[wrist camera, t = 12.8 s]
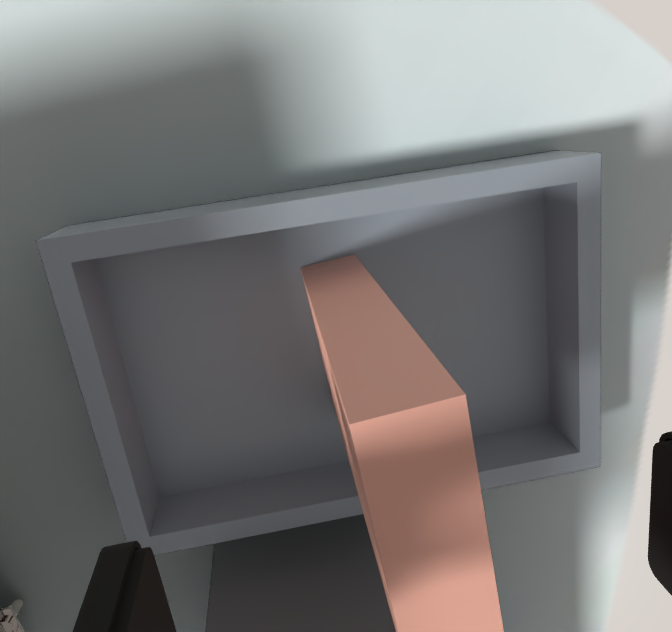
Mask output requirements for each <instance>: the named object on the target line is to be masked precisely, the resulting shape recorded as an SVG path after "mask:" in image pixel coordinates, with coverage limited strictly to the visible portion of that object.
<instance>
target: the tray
mask: <svg viewBox="0 0 672 632" xmlns="http://www.w3.org/2000/svg"><path fill="white" fill-rule="evenodd" d="M36 243H37V246H38V249H39V253H40V256H41V259H42V263H43V266H44V269H45V273H46V276H47V279H48V283H49V286H50V289H51V293H52V296H53V299H54V303H55V306H56V309H57V313H58V316H59V319H60V323H61V326H62V329H63V333H64V336H65V339H66V343H67V346H68V349H69V353H70V356H71V359H72V362H73V366H74V369H75V372H76V376H77V379H78V382H79V386H80V389H81V392H82V396H83V399H84V402H85V406H86V409H87V412H88V416H89V419H90V422H91V426H92V429H93V432H94V436H95V439H96V442H97V446H98V449H99V452H100V456H101V459H102V462H103V465H104V469H105V472H106V475H107V479H108V482H109V485H110V489H111V492H112V495H113V499H114V502H115V505H116V509H117V512H118V515H119V519H120V522H121V525H122V529H123V532H124V535H125V539H126V542H131V541H138V542H139V543H140V545H141V548H145V547H151V549H152V551H153V554H154V556H155V555H160V554H165V553H170V552H175V551H180V550H185V549H190V548H195V547H200V546H205V545H210V544H215V543H220V542H225V541H230V540H235V539H240V538H245V537H250V536H255V535H260V534H265V533H270V532H275V531H280V530H285V529H290V528H295V527H300V526H305V525H310V524H315V523H320V522H326V521H331V520H336V519H341V518H346V517H351V516H356V515H361V514H363V510H362V507H361V503H360V500H359V496H358V492H357V489H356V485H355V482H354V478H353V474H352V471H351V467H350V463H349V460H348V456H347V453H346V449H345V445H344V442H343V438H342V435H341V431H340V427H339V424H338V420H337V416H336V413H335V409H334V404H333V400H332V396H331V392H330V388H329V384H328V380H327V376H326V371H325V367H324V363H323V359H322V355H321V351H320V347H319V343H318V339H317V334H316V330H315V326H314V322H313V318H312V314H311V310H310V306H309V301H308V297H307V293H306V289H305V285H304V281H303V277H302V273H301V269H300V267H304V266H308V265H312V264H317V263H321V262H325V261H329V260H333V259H337V258H341V257H345V256H350V255H355V256H356V257H357V258H358V260H359V261H360V262H361V263H362V265H363V266H364V267H365V268H366V270H367V271H368V272H369V273H370V275H371V276H372V277H373V278H374V280H375V281H376V282H377V284H378V285H379V286H380V287H381V289H382V290H383V291H384V292H385V294H386V295H387V296H388V297H389V299H390V300H391V301H392V302H393V304H394V305H395V306H396V307H397V309H398V310H399V311H400V313H401V314H402V315H403V316H404V318H405V319H406V320H407V321H408V323H409V324H410V325H411V326H412V328H413V329H414V330H415V331H416V333H417V334H418V335H419V336H420V338H421V339H422V340H423V341H424V343H425V344H426V345H427V347H428V348H429V349H430V350H431V352H432V353H433V354H434V355H435V357H436V358H437V359H438V360H439V362H440V363H441V364H442V365H443V367H444V368H445V369H446V370H447V372H448V373H449V374H450V375H451V377H452V378H453V379H454V381H455V382H456V383H457V384H458V386H459V387H460V388H461V389H462V391H463V392H464V393H465V394H466V400H467V406H468V413H469V419H470V425H471V431H472V437H473V443H474V450H475V456H476V462H477V468H478V474H479V481H480V487H481V490H486V489H491V488H496V487H501V486H506V485H511V484H516V483H521V482H526V481H532V480H537V479H542V478H547V477H552V476H557V475H562V474H567V473H572V472H577V471H582V470H587V469H592V468H597V467H600V369H601V153H595V152H577V151H560V150H554V151H548V152H541V153H535V154H528V155H522V156H515V157H509V158H502V159H496V160H489V161H483V162H476V163H470V164H464V165H457V166H451V167H444V168H438V169H431V170H425V171H418V172H412V173H405V174H399V175H392V176H386V177H379V178H373V179H366V180H360V181H353V182H347V183H340V184H334V185H327V186H321V187H314V188H308V189H301V190H295V191H289V192H282V193H276V194H269V195H263V196H256V197H250V198H243V199H237V200H230V201H224V202H217V203H211V204H204V205H198V206H191V207H185V208H178V209H172V210H165V211H159V212H152V213H146V214H139V215H133V216H127V217H120V218H114V219H107V220H101V221H94V222H88V223H81V224H75V225H68V226H65V227H63V228H61V229H59V230H57V231H55V232H53V233H51V234H49V235H47V236H45V237H43V238H41V239H38V240H36Z"/></svg>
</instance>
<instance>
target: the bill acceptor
mask: <svg viewBox="0 0 672 632" xmlns="http://www.w3.org/2000/svg"><path fill="white" fill-rule="evenodd" d="M22 605H23V602H22V601H21V600H19V599H17V600H15V601H14V602H13V604H12V605H11V606H7V607H3V608H0V632H25V630H24V628H23V626H22V625H21V624H20V623H19V621H18V619H17V617H16V616H17V614H18V612H19V611H20V609H21V607H22Z"/></svg>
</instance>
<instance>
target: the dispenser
mask: <svg viewBox="0 0 672 632" xmlns="http://www.w3.org/2000/svg"><path fill="white" fill-rule="evenodd" d="M205 632H396V630H395V626H394V623H393V619H392V615H391V612H390V608H389V605H388V601H387V597H386V594H385V590H384V586H383V583H382V579H381V576H380V572H379V568H378V565H377V561H376V557H375V554H374V550H373V547H372V543H371V539H370V536H369V532H368V529H367V525H366V521H365V518H364V514H361V515H356V516H351V517H346V518H341V519H336V520H331V521H326V522H320V523H315V524H310V525H305V526H300V527H295V528H290V529H285V530H280V531H275V532H270V533H265V534H260V535H255V536H250V537H245V538H240V539H235V540H230V541H225V542H220V543H215V545H214V554H213V564H212V573H211V582H210V592H209V601H208V611H207V620H206V629H205Z"/></svg>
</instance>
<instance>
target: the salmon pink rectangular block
mask: <svg viewBox="0 0 672 632" xmlns="http://www.w3.org/2000/svg"><path fill="white" fill-rule="evenodd" d="M300 269H301V273H302V277H303V281H304V285H305V289H306V293H307V297H308V301H309V306H310V310H311V314H312V318H313V322H314V326H315V330H316V334H317V339H318V343H319V347H320V351H321V355H322V359H323V363H324V367H325V371H326V376H327V380H328V384H329V388H330V392H331V396H332V400H333V404H334V409H335V413H336V416H337V420H338V424H339V427H340V431H341V435H342V438H343V442H344V445H345V449H346V453H347V456H348V460H349V463H350V467H351V471H352V474H353V478H354V482H355V485H356V489H357V492H358V496H359V500H360V503H361V507H362V510H363V514H364V518H365V521H366V525H367V529H368V532H369V536H370V539H371V543H372V547H373V550H374V554H375V557H376V561H377V565H378V568H379V572H380V576H381V579H382V583H383V586H384V590H385V594H386V597H387V601H388V605H389V608H390V612H391V615H392V619H393V623H394V626H395V630H396V632H504V629H503V623H502V617H501V611H500V604H499V598H498V592H497V586H496V580H495V573H494V567H493V561H492V555H491V549H490V543H489V536H488V530H487V524H486V518H485V512H484V505H483V499H482V493H481V487H480V481H479V474H478V468H477V462H476V456H475V450H474V443H473V437H472V431H471V425H470V419H469V413H468V406H467V400H466V394H465V393H464V392H463V391H462V389H461V388H460V387H459V386H458V384H457V383H456V382H455V381H454V379H453V378H452V377H451V375H450V374H449V373H448V372H447V370H446V369H445V368H444V367H443V365H442V364H441V363H440V362H439V360H438V359H437V358H436V357H435V355H434V354H433V353H432V352H431V350H430V349H429V348H428V347H427V345H426V344H425V343H424V341H423V340H422V339H421V338H420V336H419V335H418V334H417V333H416V331H415V330H414V329H413V328H412V326H411V325H410V324H409V323H408V321H407V320H406V319H405V318H404V316H403V315H402V314H401V313H400V311H399V310H398V309H397V307H396V306H395V305H394V304H393V302H392V301H391V300H390V299H389V297H388V296H387V295H386V294H385V292H384V291H383V290H382V289H381V287H380V286H379V285H378V284H377V282H376V281H375V280H374V278H373V277H372V276H371V275H370V273H369V272H368V271H367V270H366V268H365V267H364V266H363V265H362V263H361V262H360V261H359V260H358V258H357V257H356V256H355V255H350V256H345V257H341V258H337V259H333V260H329V261H325V262H321V263H317V264H312V265H308V266H304V267H300Z"/></svg>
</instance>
